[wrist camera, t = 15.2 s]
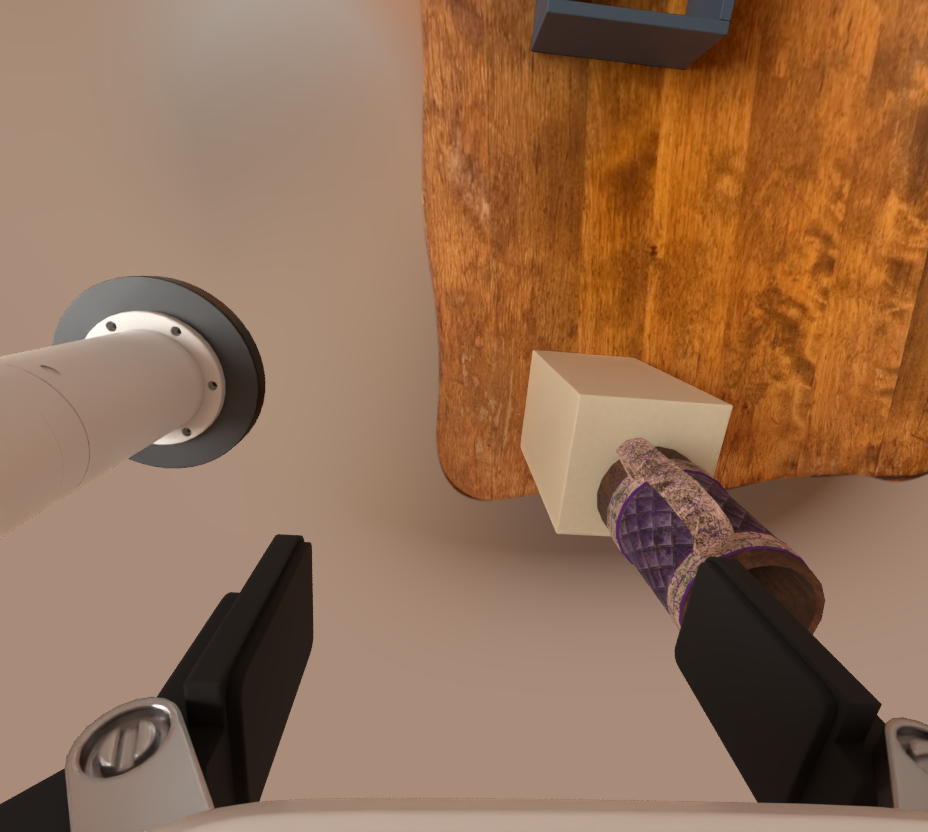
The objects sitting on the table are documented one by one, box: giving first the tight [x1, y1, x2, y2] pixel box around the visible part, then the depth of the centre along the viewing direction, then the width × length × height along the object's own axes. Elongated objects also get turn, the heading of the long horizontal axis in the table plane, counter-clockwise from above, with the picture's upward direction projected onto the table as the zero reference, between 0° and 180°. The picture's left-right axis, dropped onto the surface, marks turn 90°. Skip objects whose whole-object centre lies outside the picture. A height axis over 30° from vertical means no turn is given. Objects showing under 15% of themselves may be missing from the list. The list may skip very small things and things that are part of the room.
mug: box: [597, 438, 825, 635], centre depth 25 cm, size 10×7×12 cm
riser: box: [520, 350, 733, 536], centre depth 38 cm, size 10×10×16 cm
